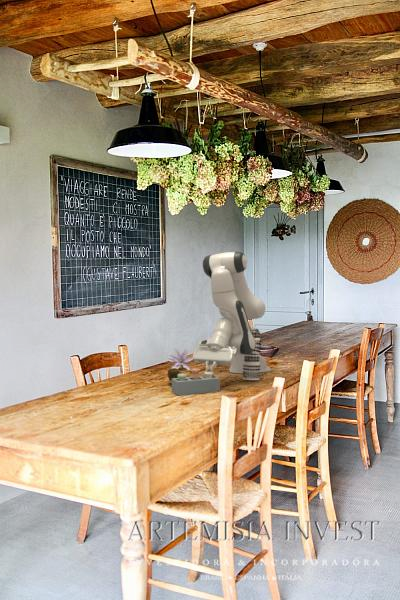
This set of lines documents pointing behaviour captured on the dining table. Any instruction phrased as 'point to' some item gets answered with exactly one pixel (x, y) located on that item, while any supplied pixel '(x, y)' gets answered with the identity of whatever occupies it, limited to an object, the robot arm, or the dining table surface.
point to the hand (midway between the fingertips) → (208, 370)
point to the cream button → (208, 374)
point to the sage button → (182, 377)
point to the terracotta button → (195, 373)
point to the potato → (173, 373)
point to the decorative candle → (252, 359)
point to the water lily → (180, 359)
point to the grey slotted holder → (195, 385)
